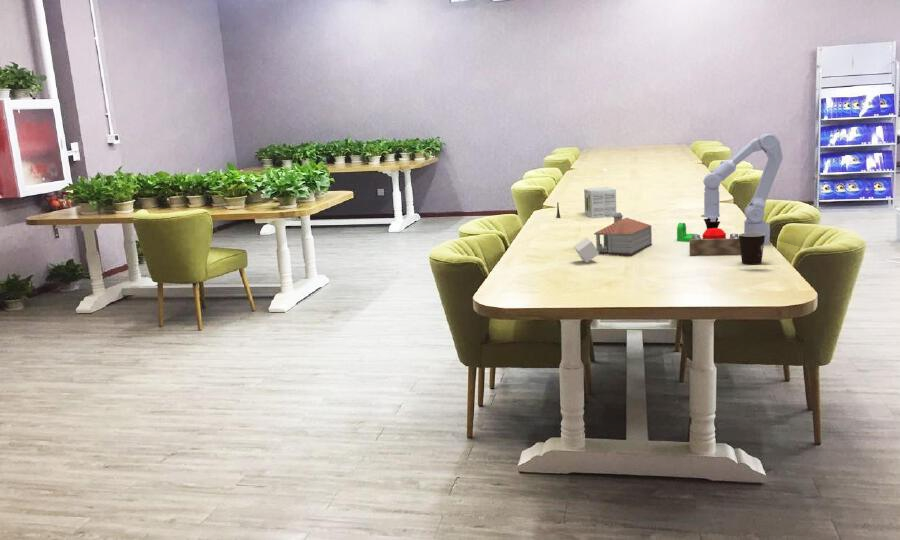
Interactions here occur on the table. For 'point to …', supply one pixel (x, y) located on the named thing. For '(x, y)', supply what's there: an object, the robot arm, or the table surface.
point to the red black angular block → (714, 234)
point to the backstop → (715, 247)
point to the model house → (624, 237)
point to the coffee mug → (751, 247)
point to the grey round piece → (700, 238)
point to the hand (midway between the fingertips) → (711, 237)
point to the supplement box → (600, 202)
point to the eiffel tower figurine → (558, 211)
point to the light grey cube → (586, 250)
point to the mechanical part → (683, 233)
